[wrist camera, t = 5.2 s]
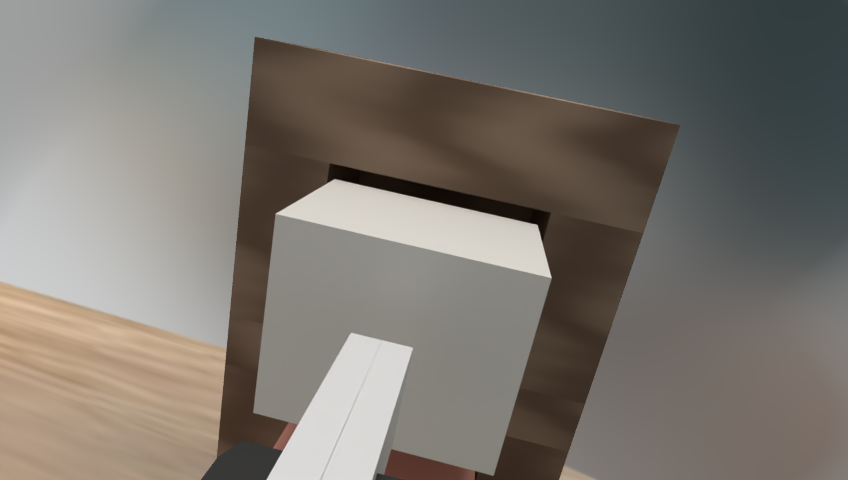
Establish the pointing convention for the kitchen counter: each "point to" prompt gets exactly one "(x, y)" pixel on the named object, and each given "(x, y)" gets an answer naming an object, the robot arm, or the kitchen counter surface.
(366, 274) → the white key
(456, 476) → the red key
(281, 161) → the key panel
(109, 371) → the kitchen counter surface
